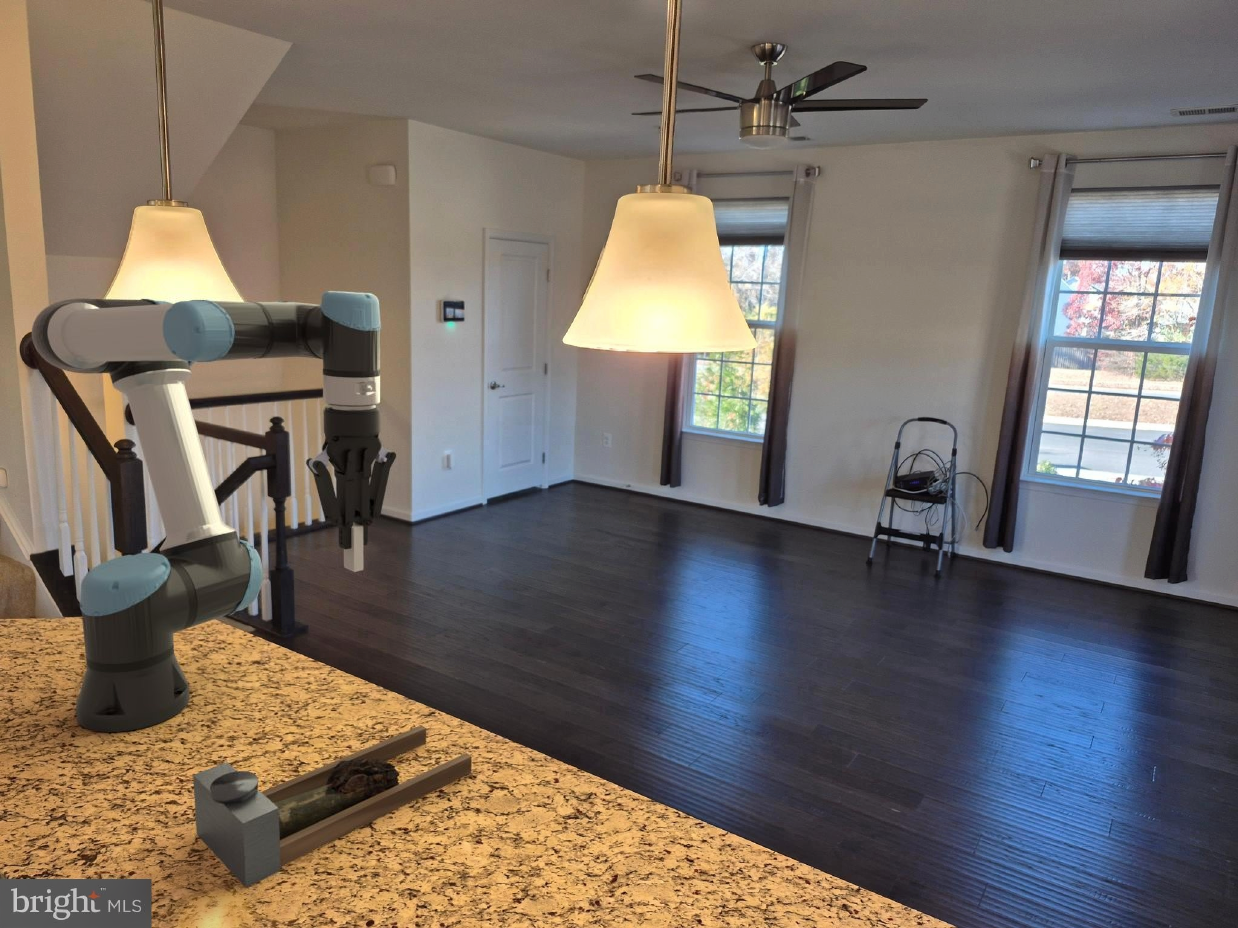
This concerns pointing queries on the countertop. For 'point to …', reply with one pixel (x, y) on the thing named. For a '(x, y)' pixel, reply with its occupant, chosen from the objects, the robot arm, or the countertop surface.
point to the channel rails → (371, 807)
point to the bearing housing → (237, 822)
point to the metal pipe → (336, 794)
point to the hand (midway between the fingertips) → (353, 568)
